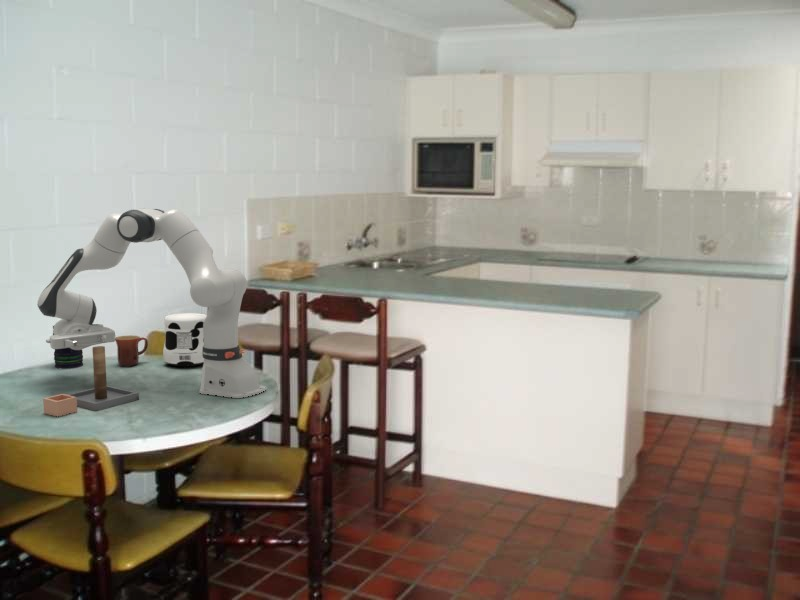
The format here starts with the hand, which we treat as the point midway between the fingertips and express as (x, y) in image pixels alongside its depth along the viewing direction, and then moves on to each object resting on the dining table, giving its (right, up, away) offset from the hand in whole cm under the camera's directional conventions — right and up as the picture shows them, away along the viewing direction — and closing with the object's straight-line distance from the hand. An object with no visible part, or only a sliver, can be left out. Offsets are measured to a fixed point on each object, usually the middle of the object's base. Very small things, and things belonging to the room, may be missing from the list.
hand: (89, 342), depth 274 cm
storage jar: (-22, -11, +40) cm, 46 cm away
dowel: (+6, -17, -8) cm, 20 cm away
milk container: (+21, -10, +44) cm, 49 cm away
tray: (+6, -18, -8) cm, 20 cm away
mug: (0, -10, +43) cm, 44 cm away
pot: (-1, -20, -21) cm, 28 cm away
